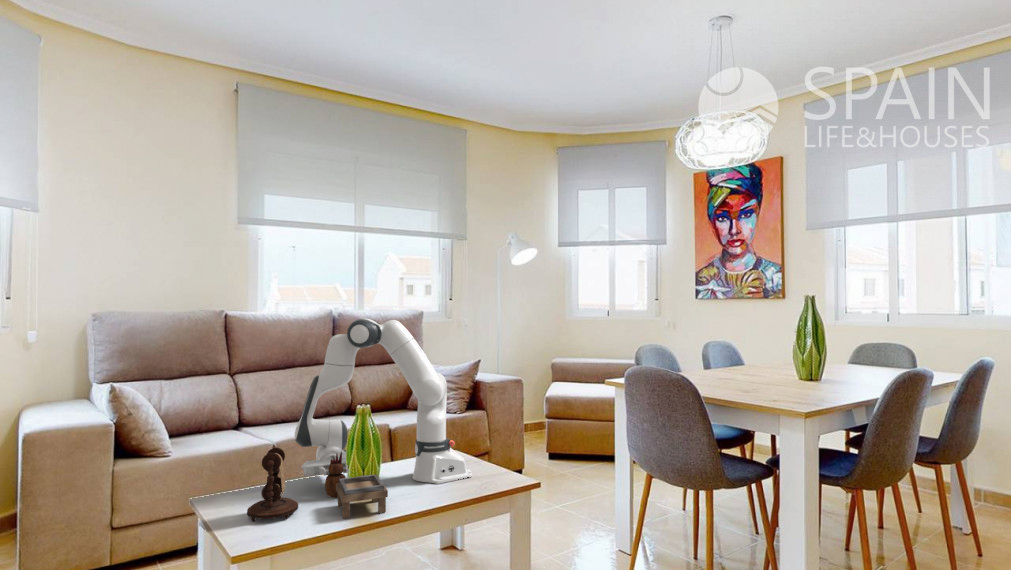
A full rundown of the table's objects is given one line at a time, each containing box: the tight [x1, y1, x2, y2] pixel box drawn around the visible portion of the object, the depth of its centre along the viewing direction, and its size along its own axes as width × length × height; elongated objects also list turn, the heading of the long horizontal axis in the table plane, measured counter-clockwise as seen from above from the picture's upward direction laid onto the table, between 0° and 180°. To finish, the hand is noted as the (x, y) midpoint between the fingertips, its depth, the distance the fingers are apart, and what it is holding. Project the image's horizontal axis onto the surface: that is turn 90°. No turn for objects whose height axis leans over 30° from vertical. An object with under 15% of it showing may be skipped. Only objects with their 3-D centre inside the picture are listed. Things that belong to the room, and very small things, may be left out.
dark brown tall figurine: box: [246, 447, 299, 523], centre depth 179 cm, size 15×15×20 cm
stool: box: [336, 474, 389, 520], centre depth 184 cm, size 14×14×8 cm
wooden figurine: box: [324, 452, 347, 499], centre depth 196 cm, size 7×6×15 cm
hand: (336, 471), depth 195 cm, fingers closed on wooden figurine, 5 cm apart
